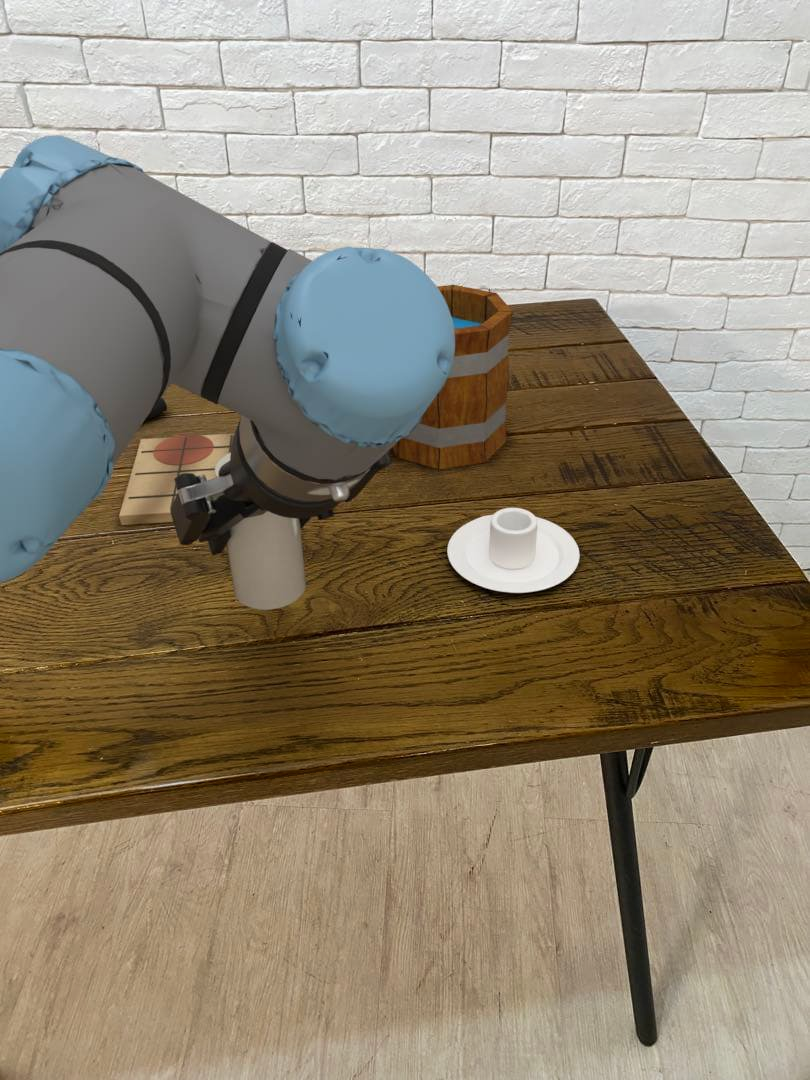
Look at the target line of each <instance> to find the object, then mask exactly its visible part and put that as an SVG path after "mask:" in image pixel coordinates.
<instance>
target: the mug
mask: <svg viewBox="0 0 810 1080" xmlns="http://www.w3.org/2000/svg"><path fill="white" fill-rule="evenodd" d="M436 286H437V285H436ZM437 288H438V289H439V290H440V292H441V294H442V295H443V297H444V299H445V301H446V304H447V306H448V308H449V311H450V314H451V317H452V320H453V325H454V332H455V352H454V359H453V363H452V367H451V372H450V375H449V377H448V378H447V380H446V382H445V383H444V385H443V387H442V388H441V390H440V391H439V393H438V394H437V395H436V397H435V398H434V400H433V401H432V403H431V404H430V405H429V407H428V408H427V410H426V411H425V413H424V414H423V415H422V421H421V422H420V423H419V424H418V425H417V426H416V427H415V428H414V430H413V431H412V432H411V433H410V434H408V435H407V436H405V437H403V438H402V439H400V440H399V441H398V442H397V443H396V444H395V445H394V446H393V447H392V448H391V449H392V450H393V452H394V454H395V456H396V458H398V459H401V460H405V461H409V462H412V463H415V464H419V465H423V466H425V467H429V468H433V469H436V470H444V469H451V468H456V467H464V466H469V465H477V464H483V463H486V462H487V461H489V460H490V458H492V456H493V455H495V454H496V453H497V452H498V451H499V450H500V448H502V446H503V445H505V444H506V443H507V442H508V437H507V426H506V425H507V424H506V413H507V399H508V392H509V391H508V390H509V384H510V366H509V365H510V364H509V340H510V330H511V325H512V320H513V319H512V318H513V313H514V311H513V310H512V309H511V307H510V306H509V305H508V304H507V303H506V302H505V301H504V300H503V298H502V297H501V296H500V295H499V294H498V293H497V292H494V291H488V290H484V289H483V290H482V289H478V288H473V287H468V286H463V285H458V284H447V285H438V286H437Z"/></svg>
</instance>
